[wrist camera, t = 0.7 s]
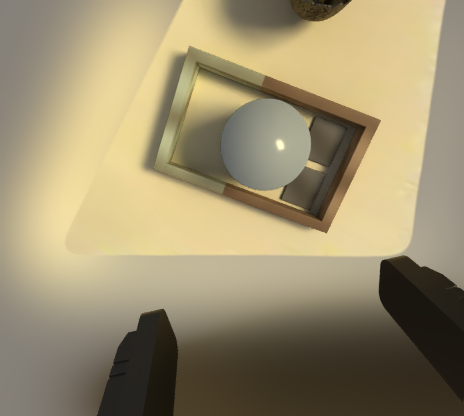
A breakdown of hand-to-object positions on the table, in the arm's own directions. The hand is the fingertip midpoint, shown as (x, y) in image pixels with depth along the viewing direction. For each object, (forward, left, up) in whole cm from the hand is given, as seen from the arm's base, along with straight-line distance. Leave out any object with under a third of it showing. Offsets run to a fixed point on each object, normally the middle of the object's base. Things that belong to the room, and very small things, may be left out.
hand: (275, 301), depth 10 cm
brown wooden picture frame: (-5, -1, -26) cm, 27 cm away
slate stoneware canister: (-5, -1, -27) cm, 27 cm away
